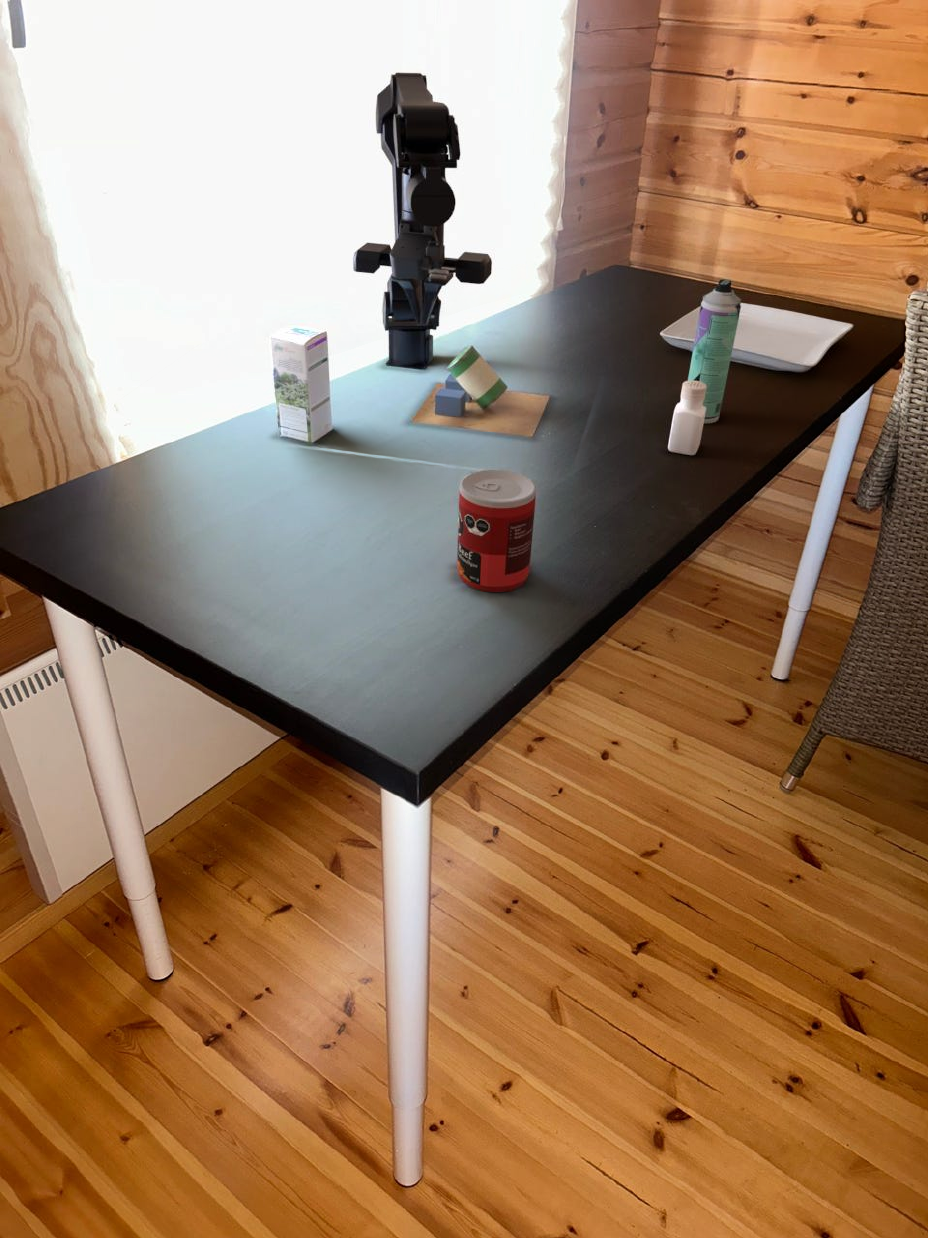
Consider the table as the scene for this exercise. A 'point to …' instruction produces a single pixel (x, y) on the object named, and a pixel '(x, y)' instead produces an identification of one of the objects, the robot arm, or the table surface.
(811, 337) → the square plate
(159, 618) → the table surface
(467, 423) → the cork mat
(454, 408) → the blue blocks
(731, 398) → the table surface
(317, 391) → the syrup box
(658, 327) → the table surface
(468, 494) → the canned food
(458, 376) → the green tin
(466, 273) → the robot arm
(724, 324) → the spray can
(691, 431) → the pepper shaker
